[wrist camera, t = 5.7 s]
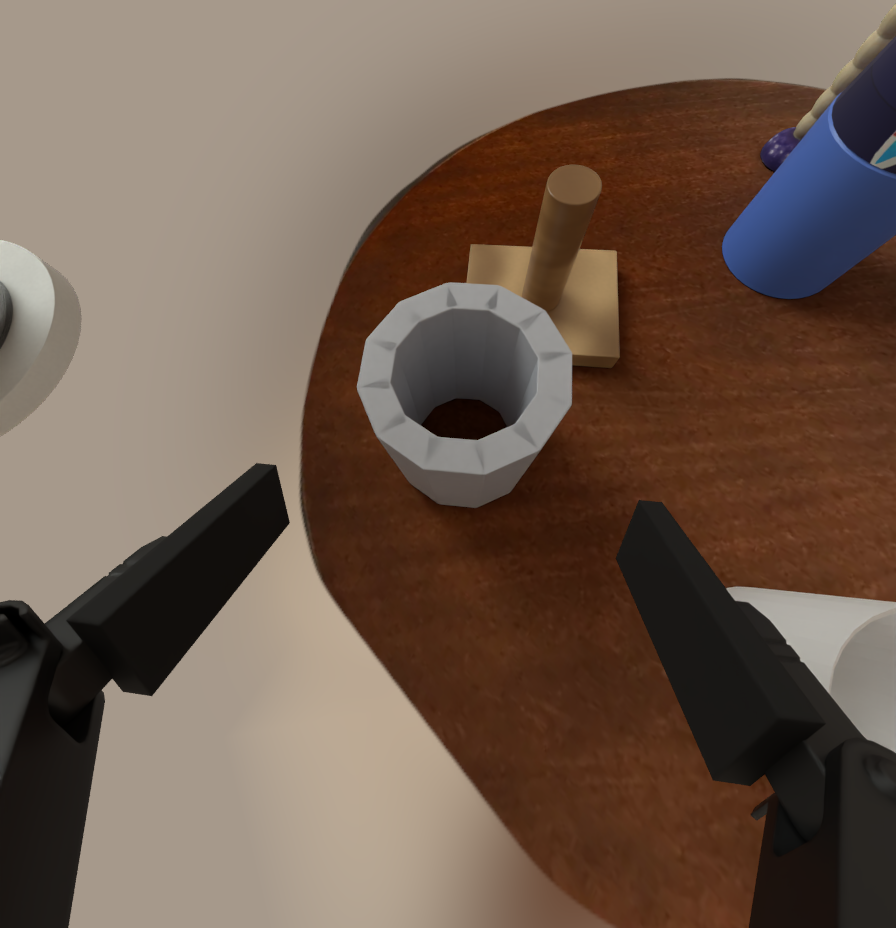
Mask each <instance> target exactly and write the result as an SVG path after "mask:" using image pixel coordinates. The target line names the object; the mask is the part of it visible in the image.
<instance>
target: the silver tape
mask: <svg viewBox="0 0 896 928" xmlns="http://www.w3.org/2000/svg"><path fill="white" fill-rule="evenodd" d="M357 391H358V393H359V395H360V398H361V400H362V403H363V405H364V408H365V410H366V412H367V415H368V417H369V420H370V422H371V425H372V427H373V429H374V432H375V434H376V436H377V438H378V439H379V441H380V442H381V443H382V445H383V446H384V448H385V449H386V450H387V452H388V453H389V455H390V456H391V458H392V459H393V460H394V462H395V463H396V465H397V466H398V467H399V469H400V470H401V472H402V473H403V474H404V476H405V477H406V479H407V480H408V481H409V483H410V484H411V485H413V486H414V487H416V488H417V489H418V490H420V491H421V492H423V493H424V494H425V495H427V496H428V497H429V498H431V499H432V500H434V501H435V502H436V503H438V504H441V505H451V506H462V507H472V508H477V507H479V506H482V505H484V504H486V503H488V502H491V501H493V500H495V499H497V498H499V497H502V496H504V495H506V494H508V493H510V492H511V491H512V489H513V488H514V486H515V485H516V484H517V482H518V481H519V480H520V478H521V477H522V475H523V474H524V473H525V471H526V470H527V468H528V467H529V466H530V464H531V463H532V462H533V460H534V459H535V457H536V456H537V455H538V453H539V452H540V450H541V449H542V448H543V446H544V445H545V443H546V442H547V440H548V439H549V437H550V436H551V434H552V433H553V432H554V430H555V429H556V427H557V426H558V424H559V423H560V421H561V420H562V418H563V417H564V416H565V414H566V413H567V411H568V410H569V408H570V407H571V405H572V352H571V350H570V348H569V347H568V345H567V344H566V342H565V341H564V339H563V337H562V336H561V334H560V333H559V331H558V329H557V328H556V326H555V325H554V323H553V322H552V320H551V318H550V317H549V315H548V314H547V312H546V311H545V310H544V309H542V308H540V307H538V306H537V305H535V304H533V303H531V302H529V301H527V300H526V299H524V298H522V297H520V296H518V295H516V294H515V293H513V292H511V291H509V290H507V289H506V288H504V287H502V286H499V285H487V284H468V283H445V284H443V285H440V286H438V287H435V288H433V289H430V290H428V291H425V292H423V293H420V294H418V295H415V296H413V297H410V298H408V299H405V300H403V301H401V302H399V303H398V304H397V305H396V306H395V307H394V308H393V310H392V311H391V312H390V313H389V314H388V315H387V316H386V318H385V319H384V320H383V321H382V322H381V323H380V324H379V325H378V327H377V328H376V329H375V330H374V331H373V332H372V333H371V334H370V336H369V337H368V338H367V339H366V343H365V348H364V353H363V358H362V363H361V369H360V374H359V379H358V384H357ZM455 398H461V399H474V400H481V401H482V402H484V403H485V404H487V405H489V406H490V407H492V408H493V409H495V410H497V411H498V412H499V413H500V415H501V417H502V418H503V420H504V422H505V424H506V426H507V428H504V429H502V430H500V431H498V432H495V433H493V434H491V435H488V436H486V437H484V438H482V439H479V440H469V439H457V438H445V437H437V436H436V435H434V434H433V433H431V432H430V431H428V430H427V429H425V428H424V427H422V426H421V424H422V423H423V422H424V421H425V419H426V418H427V417H428V415H429V414H430V413H431V412H432V410H433V409H434V408H435V407H437V406H439V405H441V404H444V403H446V402H448V401H451V400H453V399H455Z"/></svg>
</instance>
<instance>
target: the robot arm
mask: <svg viewBox="0 0 896 928" xmlns="http://www.w3.org/2000/svg"><path fill="white" fill-rule="evenodd" d="M12 315H13V306H12V300H11V296H10V294H9V291H8V290H7V288H6V286H5V285H4V284H3V283H2V282H1V281H0V349H1V347H2V345H3V343H4V341H5V339H6V337H7V335H8V332H9V329H10V326H11V322H12ZM289 523H290V522H289V518H288V514H287V509H286V505H285V501H284V497H283V492H282V488H281V484H280V480H279V476H278V472H277V467H276V465H269V464H257V463H256V464H255V465H254V466H253V467H251V468H250V469H249V470H248V471H246V472H245V473H244V474H243V475H242V476H240V477H239V478H238V479H237V480H236V481H234V482H233V483H232V484H231V485H229V486H228V487H227V488H226V489H225V490H223V491H222V492H221V493H220V494H219V495H217V496H216V497H215V498H214V499H212V500H211V501H210V502H209V503H208V504H206V505H205V506H204V507H203V508H202V509H200V510H199V511H198V512H197V513H195V514H194V515H193V516H192V517H191V518H189V519H188V520H187V521H186V522H185V523H183V524H182V525H181V526H180V527H178V528H177V529H176V530H175V531H174V532H173V533H171V534H170V535H169V536H168V537H164V536H162V537H160V538H158V539H157V540H155V541H153V542H151V543H149V544H147V545H145V546H143V547H141V548H140V549H139V550H137V551H136V552H135V553H134V554H132V555H131V556H130V557H128V558H127V559H126V560H125V561H124V562H123V564H120V565H118V566H117V567H116V568H114V569H113V570H112V571H111V572H109V575H108V576H105V577H103V578H102V579H101V580H99V581H98V582H97V583H96V584H94V585H93V586H92V587H91V588H89V589H88V590H87V591H85V592H84V593H83V594H82V595H81V596H79V597H78V598H77V599H75V600H74V601H73V602H72V603H70V604H69V605H68V606H67V607H65V608H64V609H63V610H62V611H60V612H59V613H58V614H56V615H55V616H54V617H53V618H51V619H50V620H49V621H47V622H46V623H45V624H44V623H43V622H42V620H41V619H40V618H39V617H38V616H37V615H36V613H35V612H34V611H33V610H32V609H31V608H30V606H29V605H27V604H26V603H24V602H23V601H11V600H9V601H5V602H0V928H68V926H69V919H70V913H71V907H72V901H73V894H74V888H75V882H76V876H77V870H78V864H79V858H80V851H81V845H82V839H83V833H84V827H85V821H86V814H87V808H88V802H89V796H90V790H91V784H92V777H93V771H94V765H95V759H96V753H97V747H98V741H99V734H100V728H101V722H102V715H103V710H104V703H105V699H104V693H103V692H102V689H103V688H104V687H105V685H106V684H107V683H108V682H109V681H110V680H111V679H113V680H114V681H115V682H116V684H117V685H118V686H119V687H120V689H121V690H122V691H123V692H129V693H135V694H142V695H149V696H152V695H153V694H154V693H155V692H156V690H157V689H158V688H159V687H160V685H161V684H162V683H163V682H164V680H165V679H166V678H167V676H168V675H169V674H170V673H171V671H172V670H173V669H174V668H175V666H176V665H177V664H178V663H179V661H180V660H181V659H182V658H183V656H184V655H185V654H186V653H187V651H188V650H189V649H190V647H191V646H192V645H193V644H194V643H195V641H196V640H197V639H198V637H199V636H200V635H201V634H202V632H203V631H204V630H205V629H206V627H207V626H208V625H209V624H210V622H211V621H212V620H213V619H214V617H215V616H216V615H217V614H218V612H219V611H220V610H221V609H222V607H223V606H224V605H225V604H226V602H227V601H228V600H229V599H230V597H231V596H232V595H233V593H234V592H235V591H236V590H237V588H238V587H239V586H240V585H241V583H242V582H243V581H244V580H245V578H246V577H247V576H248V575H249V573H250V572H251V571H252V570H253V568H254V567H255V566H256V565H257V563H258V562H259V561H260V559H261V558H262V557H263V556H264V554H265V553H266V552H267V551H268V549H269V548H270V547H271V546H272V544H273V543H274V542H275V541H276V539H277V538H278V537H279V536H280V534H281V533H282V532H283V530H284V529H285V528H286V527H287V526H288V524H289ZM616 560H617V562H618V564H619V567H620V569H621V571H622V573H623V576H624V578H625V580H626V583H627V585H628V587H629V589H630V592H631V594H632V596H633V599H634V601H635V603H636V605H637V608H638V610H639V612H640V614H641V617H642V619H643V621H644V624H645V626H646V628H647V630H648V633H649V635H650V637H651V640H652V642H653V644H654V646H655V649H656V651H657V653H658V656H659V658H660V660H661V662H662V665H663V667H664V669H665V672H666V674H667V676H668V678H669V681H670V683H671V685H672V688H673V690H674V692H675V694H676V697H677V699H678V701H679V703H680V706H681V708H682V710H683V713H684V715H685V717H686V719H687V722H688V724H689V726H690V729H691V731H692V733H693V735H694V738H695V740H696V742H697V745H698V747H699V749H700V751H701V754H702V756H703V758H704V761H705V763H706V765H707V767H708V770H709V772H710V774H711V777H712V779H713V780H715V781H721V782H728V783H735V784H741V785H748V786H751V785H752V784H753V783H754V782H756V781H757V780H758V779H759V778H760V777H762V776H763V775H764V774H765V775H766V777H767V779H768V780H769V782H770V784H771V786H772V788H773V790H774V791H775V793H774V794H772V795H771V796H770V797H768V798H767V799H765V800H764V801H763V802H761V803H760V804H759V805H757V806H756V807H755V808H754V810H753V812H752V813H751V816H752V817H753V818H754V819H756V820H758V819H760V818H761V817H763V816H764V815H766V814H767V815H766V821H765V827H764V834H763V840H762V847H761V853H760V859H759V866H758V872H757V878H756V885H755V891H754V898H753V904H752V910H751V917H750V923H749V928H896V753H895V752H893V751H892V750H890V749H888V748H886V747H884V746H882V745H880V744H878V743H876V742H874V741H870V740H867V739H866V738H865V737H864V736H863V735H862V734H861V733H860V732H859V730H858V729H857V728H856V727H855V725H854V724H853V723H852V722H851V720H850V719H849V718H848V717H847V715H846V714H845V713H844V712H843V711H842V709H841V708H840V707H839V706H838V704H837V703H836V702H835V701H834V699H833V698H832V697H831V696H830V694H829V693H828V692H827V691H826V689H825V688H824V687H823V686H822V684H821V683H820V682H819V681H818V679H817V678H816V677H815V676H814V674H813V673H812V672H811V671H810V669H809V668H808V667H807V666H806V664H805V663H804V662H801V661H800V657H799V656H798V654H797V653H796V652H795V651H794V649H793V648H792V647H791V646H790V645H788V644H787V643H786V639H785V638H784V637H783V636H782V634H781V633H780V632H779V631H778V629H777V628H776V627H775V626H774V624H773V623H772V622H771V621H770V620H769V619H768V618H767V617H766V616H764V615H763V614H762V613H761V612H759V611H758V610H757V609H756V608H755V607H753V606H752V605H751V604H750V603H749V602H741V601H735V600H734V599H733V597H732V596H731V595H730V593H729V592H728V591H727V589H726V588H725V587H724V585H723V584H722V583H721V581H720V580H719V579H718V577H717V576H716V575H715V573H714V572H713V571H712V569H711V568H710V567H709V565H708V564H707V562H706V561H705V560H704V558H703V557H702V556H701V554H700V553H699V552H698V550H697V549H696V548H695V546H694V545H693V544H692V542H691V541H690V540H689V538H688V537H687V536H686V534H685V533H684V532H683V530H682V529H681V527H680V526H679V525H678V523H677V522H676V521H675V519H674V518H673V517H672V515H671V514H670V513H669V511H668V510H667V509H666V507H665V506H664V505H663V503H662V502H652V501H642V500H639V501H638V504H637V506H636V509H635V511H634V514H633V516H632V519H631V521H630V524H629V526H628V529H627V531H626V534H625V537H624V539H623V542H622V544H621V547H620V549H619V552H618V554H617V557H616Z"/></svg>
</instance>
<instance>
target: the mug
mask: <svg viewBox="0 0 896 928" xmlns="http://www.w3.org/2000/svg"><path fill="white" fill-rule="evenodd" d="M726 589H727V591H728V592H729V593H730V595H731V596H732V597H733V599H734V600H735V601H741V602H749V603H750V604H751V605H752V606H753V607H755V608H756V609H757V610H758V611H759V612H761V613H762V614H763V615H764V616H766V617H767V618H768V619H769V620H770V621H771V622H772V623H773V624H774V626H775V627H776V628H777V629H778V631H779V632H780V633H781V634H782V636H783V637H784V638H785V639H786V643H787V644H788V645H790V646H791V647H792V648H793V649H794V651H795V652H796V653H797V654H798V656H799V657H800V661H801V662H804V663H805V664H806V666H807V667H808V668H809V669H810V671H811V672H812V673H813V674H814V676H815V677H816V678H817V679H818V681H819V682H820V683H821V684H822V686H823V687H824V688H825V689H826V691H827V692H828V693H829V694H830V696H831V697H832V698H833V699H834V701H835V702H836V703H837V704H838V706H839V707H840V708H841V709H842V711H843V712H844V713H845V714H846V715H847V717H848V718H849V719H850V720H851V722H852V723H853V724H854V725H855V727H856V728H857V729H858V730H859V732H860V733H861V734H862V735H863V736H864V737H865V738H866V739H867V740H870V741H874V742H876V743H878V744H880V745H882V746H884V747H886V748H888V749H890V750H892V751H893V752H895V753H896V602H888V601H878V600H869V599H859V598H850V597H840V596H830V595H821V594H811V593H801V592H792V591H782V590H772V589H763V588H753V587H730V588H726Z"/></svg>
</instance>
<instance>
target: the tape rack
mask: <svg viewBox="0 0 896 928" xmlns="http://www.w3.org/2000/svg"><path fill="white" fill-rule="evenodd" d="M601 189H602V182H601V179H600V177H599V176H598V175H597V173H596V172H594V171H593V170H591V169H590V168H588V167H585V166H581V165H566V166H562V167H560V168H558V169H556V170H555V171H553V172H552V173H551V175H550V176H549V178H548V180H547V184H546V189H545V193H544V198H543V202H542V207H541V211H540V216H539V220H538V225H537V229H536V234H535V238H534V243H533V247H521V246H499V245H477V244H471V247H470V256H469V265H468V274H467V283H468V284H487V285H499V286H502V287H504V288H506V289H507V290H509V291H511V292H513V293H515V294H516V295H518V296H520V297H522V298H524V299H526V300H527V301H529V302H531V303H533V304H535V305H537V306H538V307H540V308H542V309H544V310H545V311H546V312H547V314H548V315H549V317H550V318H551V320H552V322H553V323H554V325H555V326H556V328H557V329H558V331H559V333H560V334H561V336H562V337H563V339H564V341H565V342H566V344H567V345H568V347H569V348H570V350H571V352H572V365H574V366H589V367H604V368H612V367H613V366H614V364H615V363H616V362H617V360H618V359H619V358H620V348H619V315H618V282H617V251H609V250H587V249H579V248H580V246H581V243H582V240H583V238H584V235H585V232H586V230H587V227H588V225H589V222H590V219H591V217H592V214H593V211H594V209H595V206H596V203H597V201H598V198H599V195H600V193H601Z"/></svg>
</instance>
